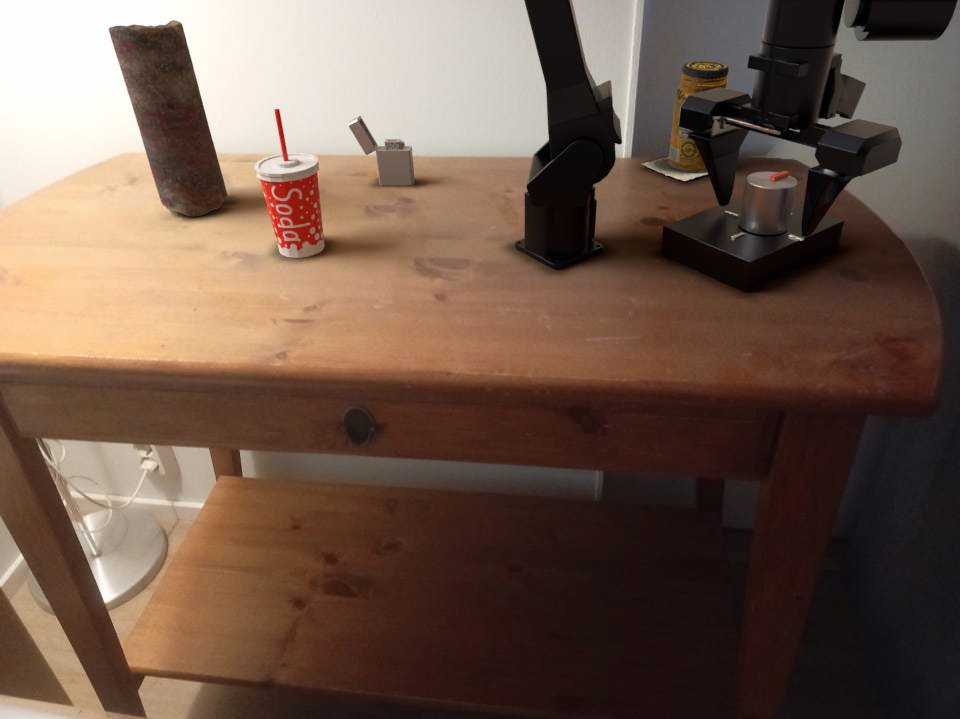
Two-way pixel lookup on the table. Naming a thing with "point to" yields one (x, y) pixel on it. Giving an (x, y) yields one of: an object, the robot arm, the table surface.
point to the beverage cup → (292, 199)
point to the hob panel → (745, 245)
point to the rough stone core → (170, 116)
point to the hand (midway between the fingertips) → (763, 219)
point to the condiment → (682, 149)
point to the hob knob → (767, 202)
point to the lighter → (386, 155)
